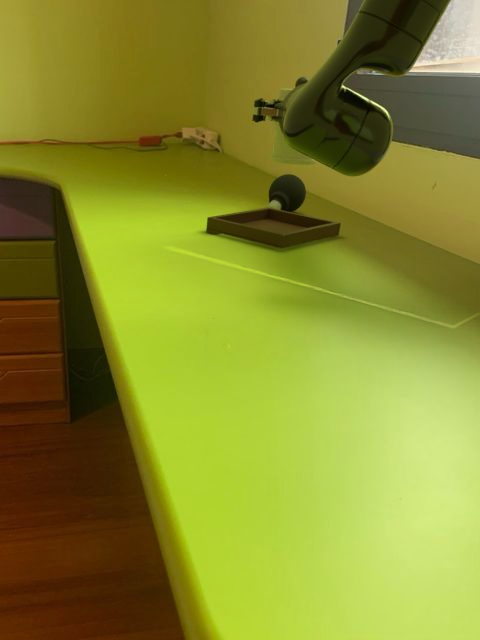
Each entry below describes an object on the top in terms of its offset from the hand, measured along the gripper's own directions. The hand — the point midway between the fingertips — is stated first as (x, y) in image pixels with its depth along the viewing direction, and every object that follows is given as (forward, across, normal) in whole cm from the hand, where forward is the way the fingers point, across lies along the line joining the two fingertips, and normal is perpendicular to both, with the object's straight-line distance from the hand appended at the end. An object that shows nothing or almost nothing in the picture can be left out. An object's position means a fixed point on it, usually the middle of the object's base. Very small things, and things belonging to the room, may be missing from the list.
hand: (296, 110), depth 98 cm
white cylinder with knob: (-3, 0, +6) cm, 7 cm away
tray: (-1, +1, +17) cm, 17 cm away
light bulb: (+17, -2, +17) cm, 24 cm away
